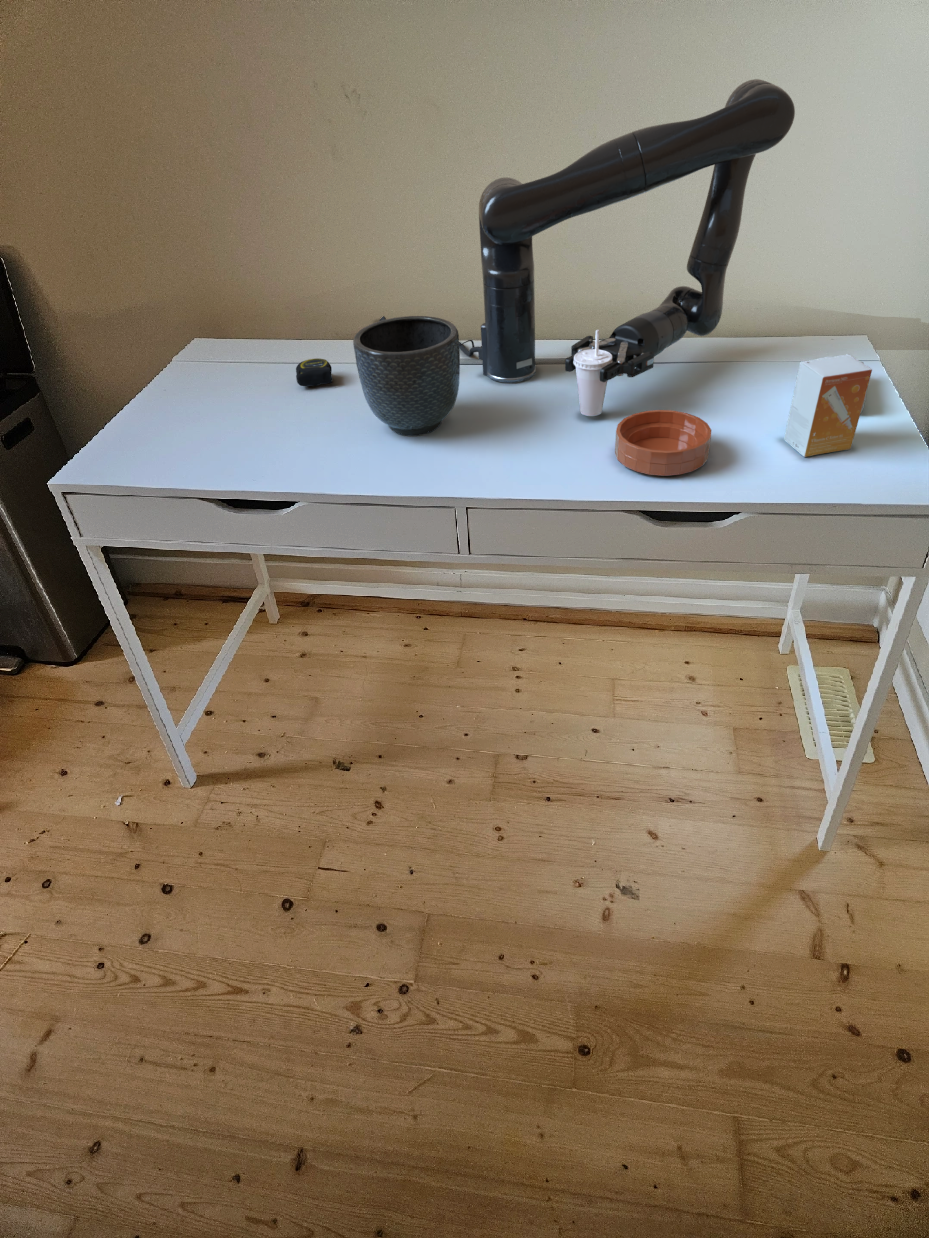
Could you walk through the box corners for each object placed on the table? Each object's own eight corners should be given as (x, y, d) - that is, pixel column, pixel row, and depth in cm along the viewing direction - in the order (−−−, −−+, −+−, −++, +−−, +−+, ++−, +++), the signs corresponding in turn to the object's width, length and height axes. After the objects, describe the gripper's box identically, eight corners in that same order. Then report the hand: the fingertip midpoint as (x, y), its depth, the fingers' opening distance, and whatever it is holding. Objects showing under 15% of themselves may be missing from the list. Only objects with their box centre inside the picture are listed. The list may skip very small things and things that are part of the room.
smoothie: (608, 420, 137) (612, 338, 128) (570, 419, 138) (571, 337, 129) (611, 403, 141) (615, 323, 132) (574, 402, 143) (575, 322, 134)
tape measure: (298, 391, 156) (294, 373, 154) (299, 377, 162) (295, 359, 159) (333, 387, 157) (330, 369, 154) (333, 373, 162) (330, 355, 160)
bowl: (599, 466, 127) (600, 440, 124) (637, 428, 135) (639, 403, 133) (687, 487, 120) (690, 460, 117) (720, 446, 129) (724, 420, 126)
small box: (804, 458, 124) (822, 377, 116) (782, 440, 129) (798, 360, 121) (852, 450, 125) (873, 368, 117) (829, 432, 130) (848, 352, 122)
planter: (349, 441, 139) (333, 349, 129) (392, 399, 151) (381, 312, 141) (441, 453, 133) (432, 358, 123) (479, 408, 145) (473, 318, 135)
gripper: (608, 309, 144) (549, 339, 135) (680, 325, 136) (622, 358, 127) (606, 350, 148) (549, 382, 140) (675, 369, 140) (619, 403, 132)
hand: (584, 371), depth 133 cm, fingers closed on smoothie, 6 cm apart
